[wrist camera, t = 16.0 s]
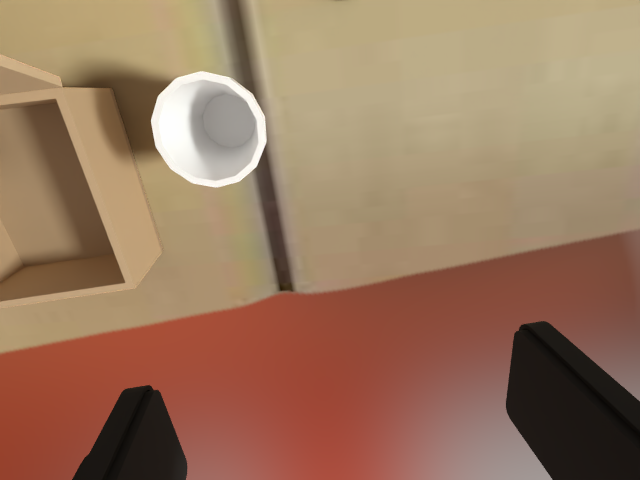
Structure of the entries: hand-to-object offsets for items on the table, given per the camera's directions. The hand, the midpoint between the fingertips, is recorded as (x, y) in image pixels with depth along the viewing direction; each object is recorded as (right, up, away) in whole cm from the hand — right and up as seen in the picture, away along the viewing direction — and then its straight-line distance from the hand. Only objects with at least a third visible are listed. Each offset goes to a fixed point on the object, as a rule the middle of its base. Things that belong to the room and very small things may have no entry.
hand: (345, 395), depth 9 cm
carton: (-32, +11, +34) cm, 47 cm away
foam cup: (-11, +18, +33) cm, 39 cm away
